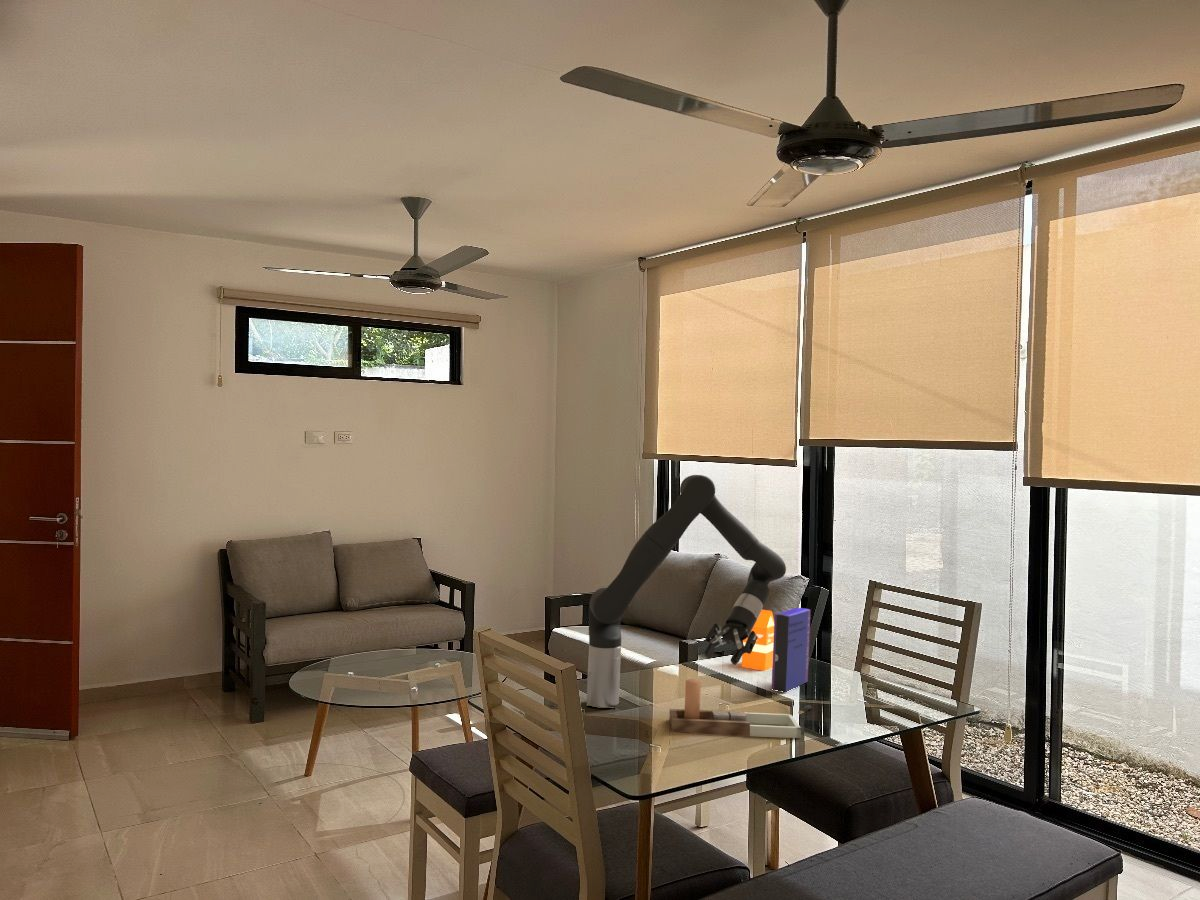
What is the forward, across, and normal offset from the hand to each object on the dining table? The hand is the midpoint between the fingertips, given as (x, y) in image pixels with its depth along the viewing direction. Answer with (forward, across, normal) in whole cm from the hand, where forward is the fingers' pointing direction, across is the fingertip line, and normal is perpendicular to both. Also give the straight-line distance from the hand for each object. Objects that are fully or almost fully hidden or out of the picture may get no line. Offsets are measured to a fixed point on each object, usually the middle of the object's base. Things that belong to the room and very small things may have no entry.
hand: (719, 659), depth 246 cm
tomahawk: (-3, +13, +28) cm, 31 cm away
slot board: (+18, +3, +6) cm, 19 cm away
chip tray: (+10, +15, +14) cm, 23 cm away
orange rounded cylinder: (+20, 0, +3) cm, 20 cm away
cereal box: (-23, -8, +48) cm, 53 cm away
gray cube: (+14, +9, +9) cm, 18 cm away
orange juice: (-33, -29, +58) cm, 72 cm away
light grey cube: (+16, +5, +7) cm, 18 cm away
